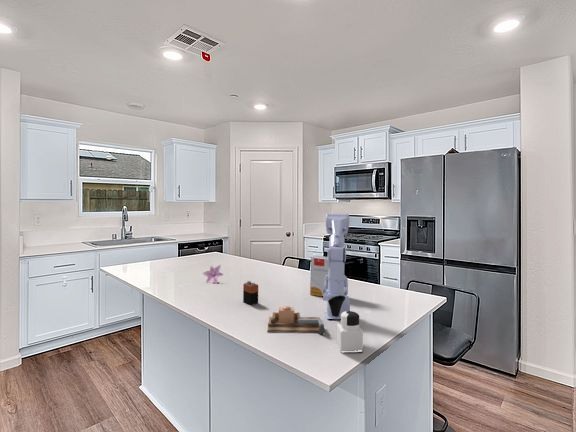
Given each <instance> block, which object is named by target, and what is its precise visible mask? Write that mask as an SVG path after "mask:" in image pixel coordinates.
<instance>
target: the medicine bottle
mask: <svg viewBox="0 0 576 432" xmlns="http://www.w3.org/2000/svg"><path fill="white" fill-rule="evenodd" d="M336 326H337V327H336V332H337V333H336V345H337V344H338V345H337V347H338V346H339V347H338V349H339V348H340V350H339V351H355V350H356V351H358V350H362V351H363V345H364V344H363V342H364V340H363V339H364V338H363V337H364V331H363V330H362V328H361V327H360V314H359V313H358V312H355V311H351V310H350V311H345V312H342V313H341V320H340V323H337V325H336Z"/></svg>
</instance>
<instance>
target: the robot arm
mask: <svg viewBox="0 0 576 432" xmlns="http://www.w3.org/2000/svg"><path fill="white" fill-rule="evenodd" d="M325 226H326V227H325V229H326V233H327V234H328V235H330V236H329V242H328V243H329V245H328V248H327V257H328V267H329V270H328V275H327V276H326V277H325V284H324V293H325V294H324V295H323V297H322V301H326V312H324V314H325V317H326V320H328V319H341V313H342V312H345V311H351V301H350V300H351V299H350V297H349V296H348V293H349V281H348V277H347V276H346V275H345V262H346V259H347V249H346V244H345V236H344V235H347V234H348V232H349V227H350V215H349V213H326V215H325Z"/></svg>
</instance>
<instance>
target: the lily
mask: <svg viewBox="0 0 576 432" xmlns="http://www.w3.org/2000/svg"><path fill="white" fill-rule="evenodd" d="M221 267H222V264H219V265H217V266H216V267H215V266H212V265H210V267H209V270H207V271H204V272H202V275H203V276H205V277H207V279H206V282H205V283H210V282H211V281H212V282H213V283H214V284H216V285H217V283H218V278H219V277H223V276H224V274H223V272H220V271H221Z"/></svg>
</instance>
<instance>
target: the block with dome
mask: <svg viewBox="0 0 576 432" xmlns="http://www.w3.org/2000/svg"><path fill="white" fill-rule="evenodd" d="M278 312H279V323H294V313H295V307H291V306H288V305H284V306H280V307H278Z"/></svg>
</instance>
